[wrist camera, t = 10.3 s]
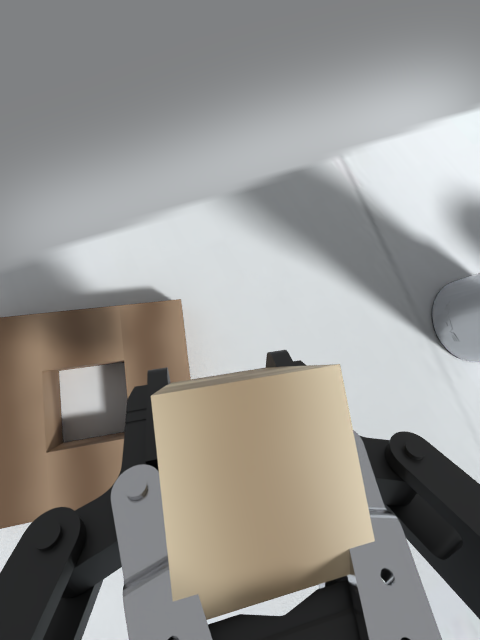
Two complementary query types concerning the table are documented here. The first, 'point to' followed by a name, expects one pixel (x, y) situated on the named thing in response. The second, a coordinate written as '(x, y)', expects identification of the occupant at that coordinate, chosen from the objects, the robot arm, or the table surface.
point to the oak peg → (258, 484)
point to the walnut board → (45, 405)
